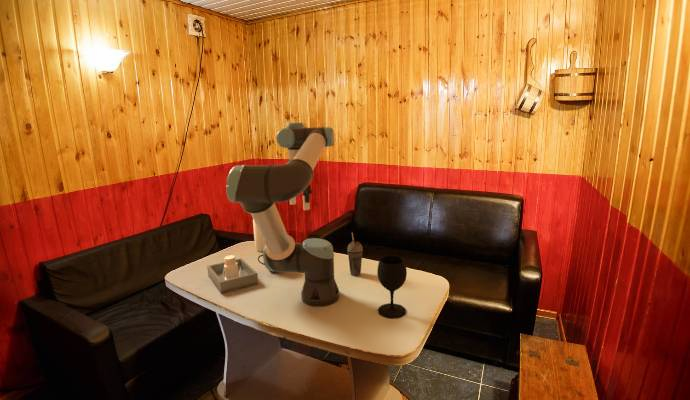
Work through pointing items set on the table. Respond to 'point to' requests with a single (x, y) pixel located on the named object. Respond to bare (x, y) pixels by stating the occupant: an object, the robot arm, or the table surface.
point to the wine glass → (392, 283)
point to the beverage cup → (355, 257)
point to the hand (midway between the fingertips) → (299, 207)
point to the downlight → (231, 268)
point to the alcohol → (258, 239)
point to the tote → (245, 280)
